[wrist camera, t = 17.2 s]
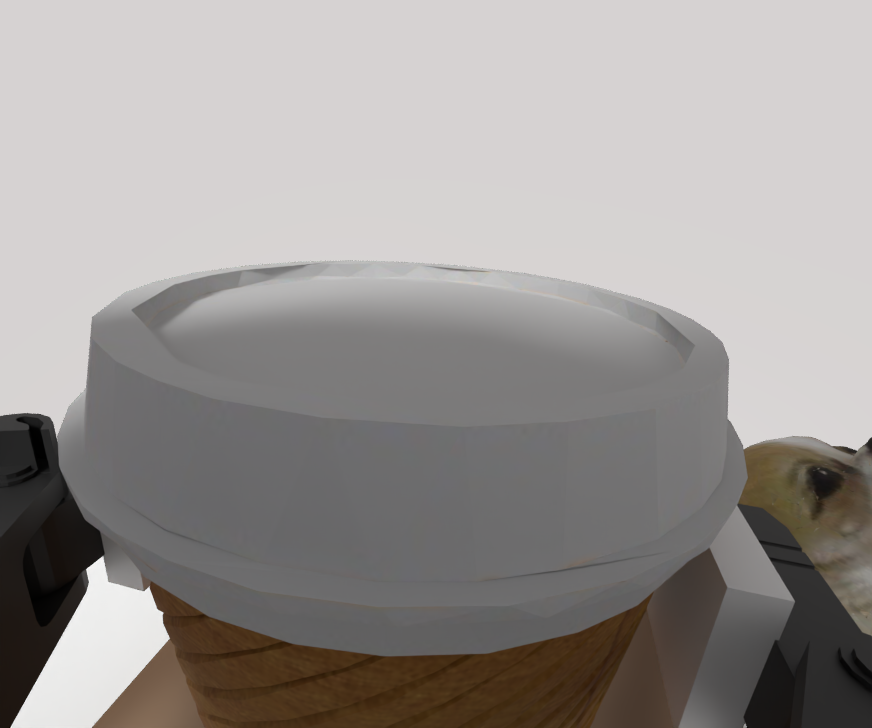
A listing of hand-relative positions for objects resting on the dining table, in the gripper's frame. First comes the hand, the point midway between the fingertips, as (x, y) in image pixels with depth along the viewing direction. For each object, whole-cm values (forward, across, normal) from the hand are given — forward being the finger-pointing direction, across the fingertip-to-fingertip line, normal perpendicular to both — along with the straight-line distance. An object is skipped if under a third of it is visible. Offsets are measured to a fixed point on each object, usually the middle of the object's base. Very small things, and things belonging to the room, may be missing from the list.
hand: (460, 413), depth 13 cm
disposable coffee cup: (-5, 0, -8) cm, 9 cm away
